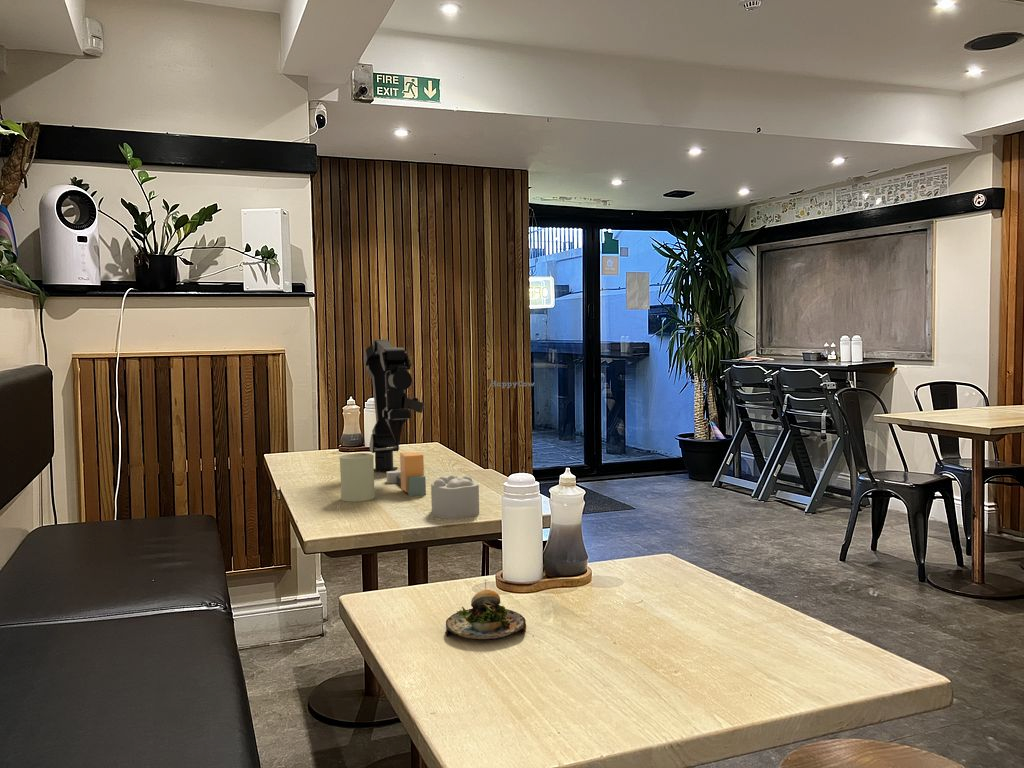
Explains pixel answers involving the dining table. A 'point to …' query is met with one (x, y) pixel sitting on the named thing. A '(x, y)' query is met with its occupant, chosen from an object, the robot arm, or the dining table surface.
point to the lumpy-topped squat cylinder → (455, 497)
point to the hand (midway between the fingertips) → (397, 441)
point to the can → (357, 477)
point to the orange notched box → (410, 467)
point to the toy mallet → (409, 482)
